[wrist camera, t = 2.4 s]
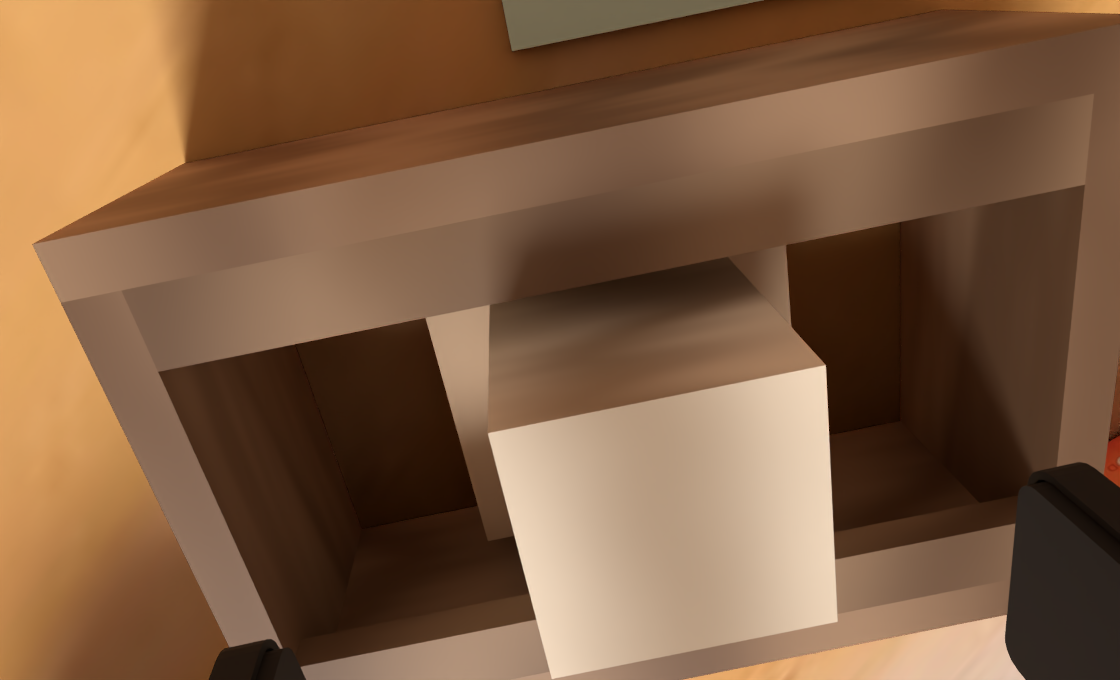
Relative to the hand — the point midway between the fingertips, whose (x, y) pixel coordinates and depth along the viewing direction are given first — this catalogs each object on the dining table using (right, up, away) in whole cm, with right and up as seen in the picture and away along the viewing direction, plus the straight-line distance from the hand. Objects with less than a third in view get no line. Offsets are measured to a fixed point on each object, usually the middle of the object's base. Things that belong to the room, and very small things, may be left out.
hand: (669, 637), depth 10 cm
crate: (0, +4, +11) cm, 11 cm away
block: (0, +3, +8) cm, 8 cm away
